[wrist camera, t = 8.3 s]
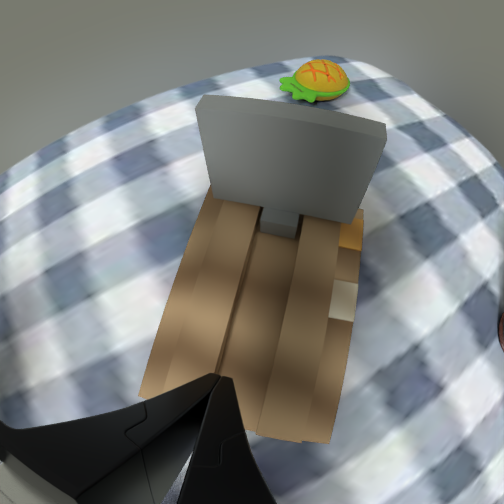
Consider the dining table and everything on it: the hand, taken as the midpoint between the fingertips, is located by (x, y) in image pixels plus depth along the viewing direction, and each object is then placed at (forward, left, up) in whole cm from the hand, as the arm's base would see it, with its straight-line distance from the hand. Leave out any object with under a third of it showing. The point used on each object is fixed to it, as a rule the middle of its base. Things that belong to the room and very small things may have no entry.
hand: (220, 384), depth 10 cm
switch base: (+5, -5, -12) cm, 14 cm away
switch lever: (+10, -10, -10) cm, 17 cm away
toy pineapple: (+24, -25, -12) cm, 37 cm away
